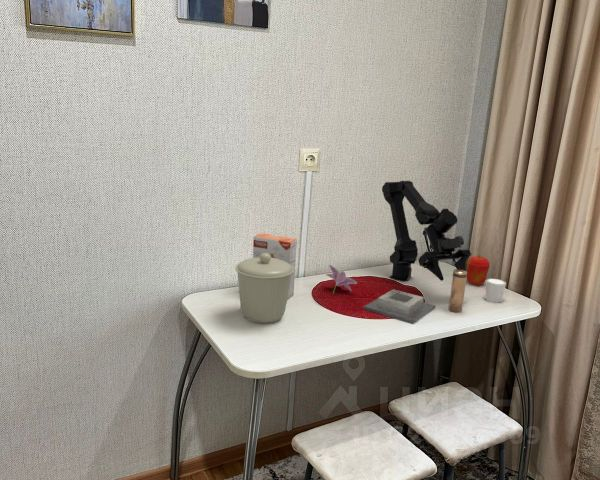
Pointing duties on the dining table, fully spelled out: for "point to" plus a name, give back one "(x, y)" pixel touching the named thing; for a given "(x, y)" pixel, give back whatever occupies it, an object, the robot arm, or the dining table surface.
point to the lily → (340, 278)
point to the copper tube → (457, 290)
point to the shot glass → (494, 290)
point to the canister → (263, 288)
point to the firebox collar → (400, 306)
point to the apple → (477, 270)
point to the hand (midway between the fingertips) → (453, 279)
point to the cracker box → (277, 251)
